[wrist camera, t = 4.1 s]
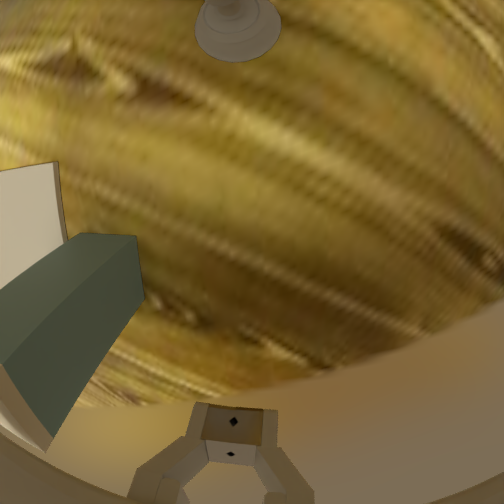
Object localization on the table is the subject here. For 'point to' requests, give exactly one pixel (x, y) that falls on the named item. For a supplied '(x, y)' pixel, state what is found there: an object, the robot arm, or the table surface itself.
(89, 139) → the table surface
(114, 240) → the long block
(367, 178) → the table surface
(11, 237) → the mat
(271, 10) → the chalice
